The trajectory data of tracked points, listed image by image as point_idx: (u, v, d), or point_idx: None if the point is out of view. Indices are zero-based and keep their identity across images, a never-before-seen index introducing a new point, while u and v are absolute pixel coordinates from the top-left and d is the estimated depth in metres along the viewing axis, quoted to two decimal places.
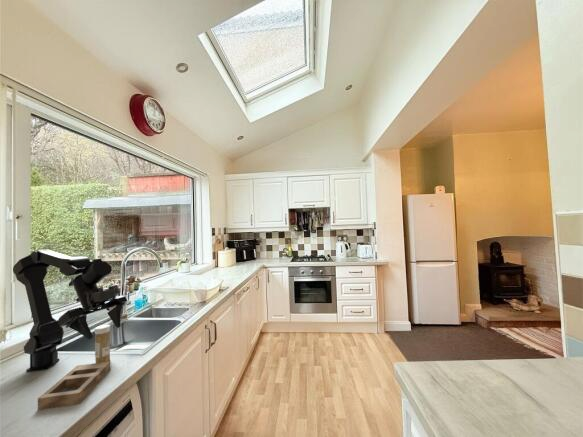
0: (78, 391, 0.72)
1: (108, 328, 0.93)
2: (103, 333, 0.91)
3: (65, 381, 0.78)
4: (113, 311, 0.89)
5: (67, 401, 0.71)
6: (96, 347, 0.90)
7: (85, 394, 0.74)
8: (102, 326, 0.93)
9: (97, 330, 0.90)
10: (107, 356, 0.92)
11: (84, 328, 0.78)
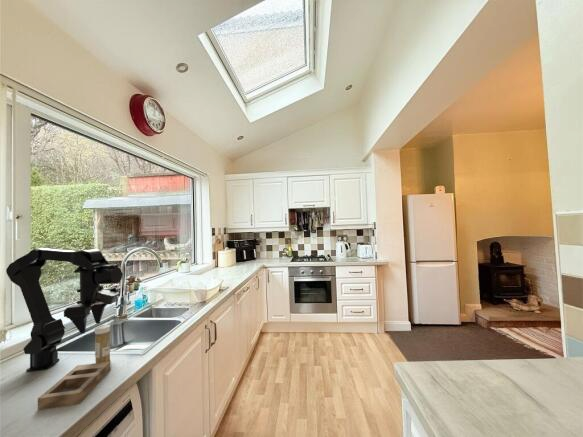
0: (78, 391, 0.72)
1: (108, 328, 0.93)
2: (103, 333, 0.91)
3: (65, 381, 0.78)
4: (98, 306, 0.97)
5: (67, 401, 0.71)
6: (96, 347, 0.90)
7: (85, 394, 0.74)
8: (102, 326, 0.93)
9: (97, 330, 0.90)
10: (107, 356, 0.92)
11: (83, 323, 0.86)
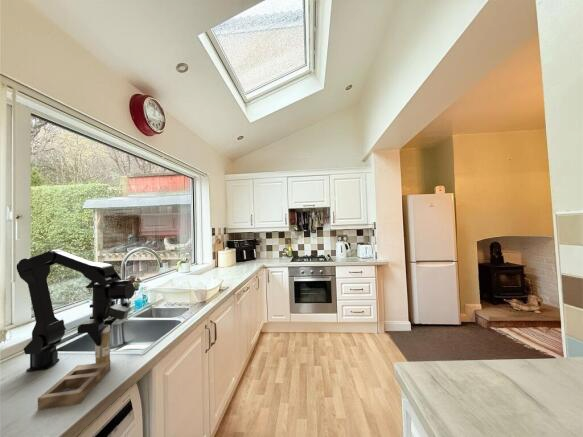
0: (78, 391, 0.72)
1: (108, 328, 0.93)
2: (103, 333, 0.91)
3: (65, 381, 0.78)
4: (106, 322, 0.95)
5: (67, 401, 0.71)
6: (96, 347, 0.90)
7: (85, 394, 0.74)
8: None
9: None
10: (107, 356, 0.92)
11: (100, 336, 0.89)
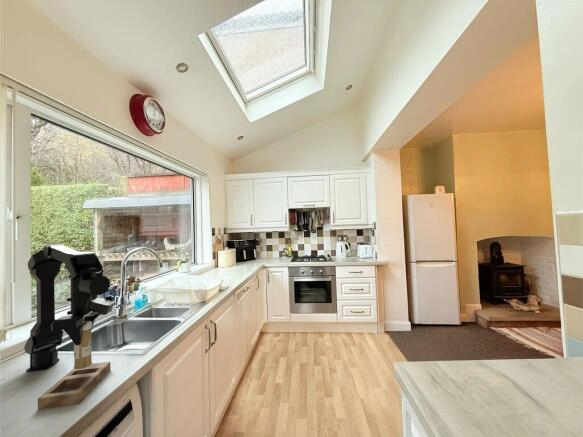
0: (78, 391, 0.72)
1: (89, 325, 0.81)
2: (83, 331, 0.80)
3: (65, 381, 0.78)
4: (87, 319, 0.84)
5: (67, 401, 0.71)
6: (75, 347, 0.79)
7: (85, 394, 0.74)
8: None
9: None
10: (88, 357, 0.80)
11: (79, 334, 0.78)
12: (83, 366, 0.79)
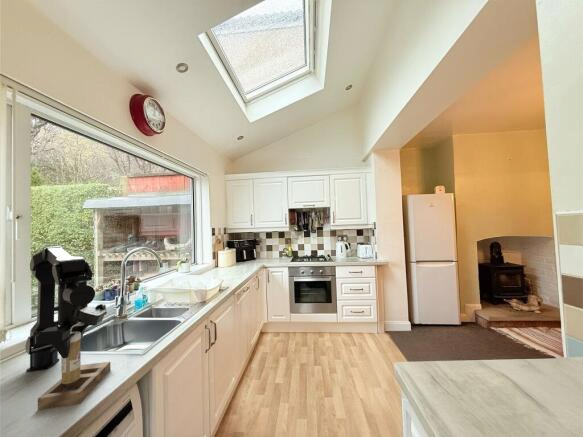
0: (78, 391, 0.72)
1: (78, 336, 0.76)
2: (71, 343, 0.74)
3: None
4: (76, 329, 0.78)
5: (67, 401, 0.71)
6: (62, 360, 0.74)
7: (85, 394, 0.74)
8: None
9: None
10: (77, 371, 0.75)
11: (66, 347, 0.72)
12: (71, 380, 0.74)
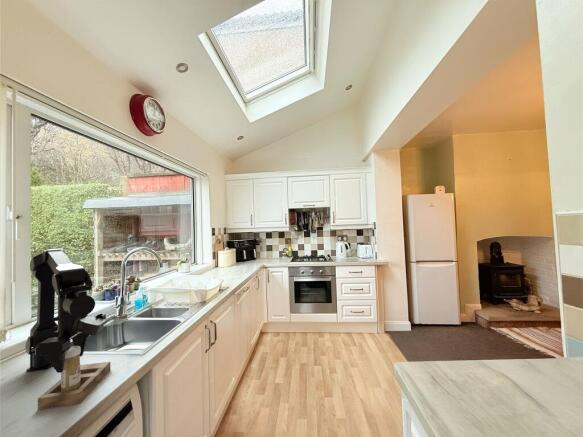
0: (78, 391, 0.72)
1: (77, 351, 0.75)
2: (70, 358, 0.74)
3: None
4: (81, 336, 0.80)
5: (67, 401, 0.71)
6: (62, 375, 0.73)
7: (85, 394, 0.74)
8: (70, 348, 0.76)
9: None
10: (76, 386, 0.75)
11: (61, 361, 0.70)
12: None
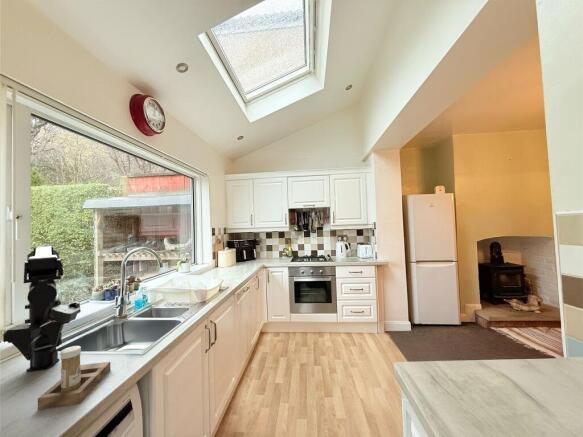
0: (78, 391, 0.72)
1: (77, 351, 0.75)
2: (71, 358, 0.74)
3: None
4: (55, 324, 0.81)
5: (67, 401, 0.71)
6: (62, 375, 0.73)
7: (85, 394, 0.74)
8: (70, 348, 0.76)
9: (63, 354, 0.73)
10: (76, 386, 0.75)
11: (30, 348, 0.70)
12: None
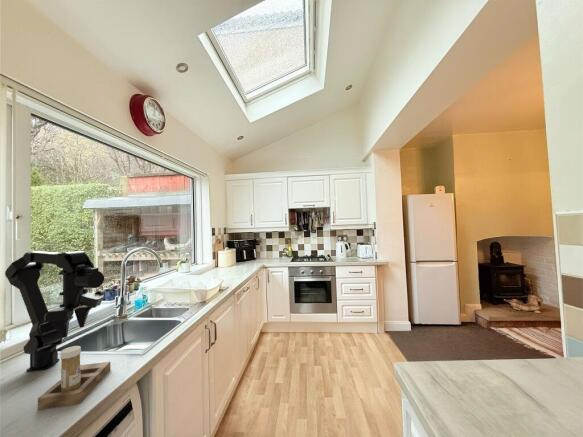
0: (78, 391, 0.72)
1: (77, 351, 0.75)
2: (70, 358, 0.74)
3: None
4: (82, 309, 0.94)
5: (67, 401, 0.71)
6: (62, 375, 0.73)
7: (85, 394, 0.74)
8: (70, 348, 0.76)
9: (63, 354, 0.73)
10: (76, 386, 0.75)
11: (65, 328, 0.84)
12: None
